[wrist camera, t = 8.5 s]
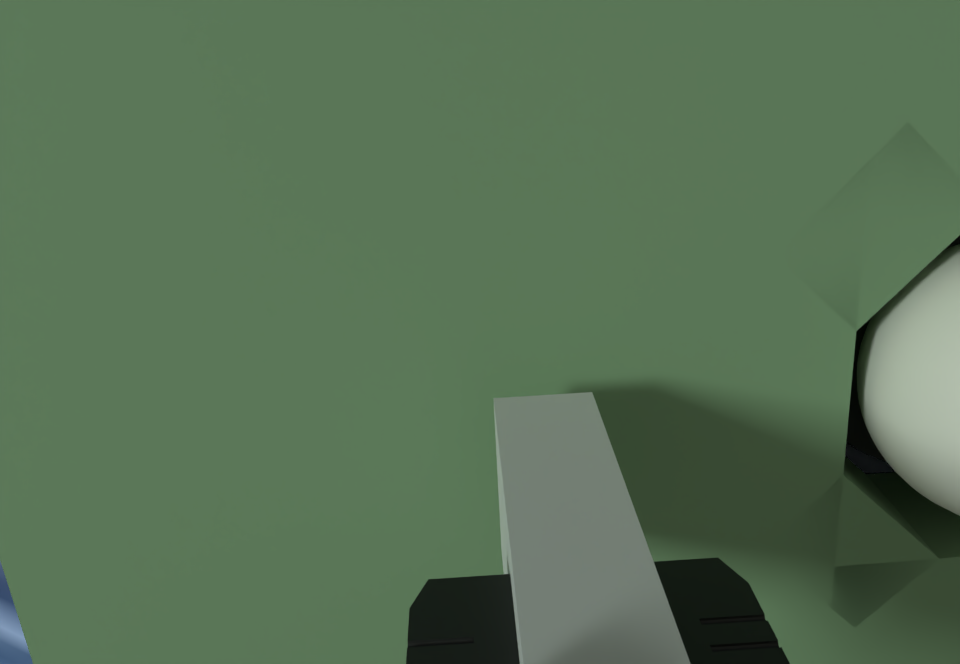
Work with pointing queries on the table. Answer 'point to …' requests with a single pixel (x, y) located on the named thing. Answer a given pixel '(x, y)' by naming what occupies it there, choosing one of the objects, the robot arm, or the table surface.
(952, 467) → the ball
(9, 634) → the table surface
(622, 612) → the robot arm
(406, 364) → the putting mat
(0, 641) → the table surface
